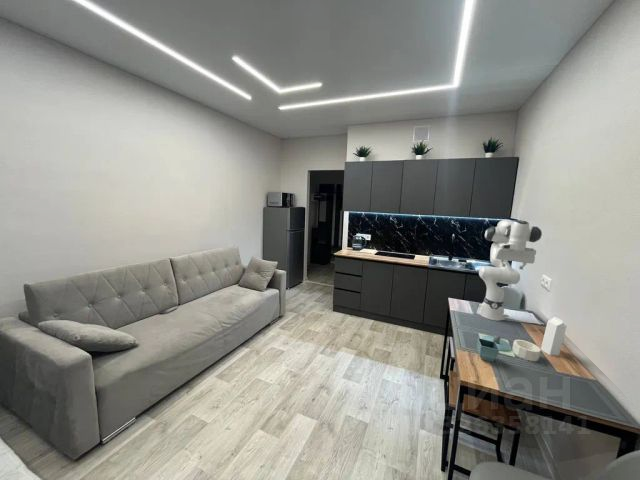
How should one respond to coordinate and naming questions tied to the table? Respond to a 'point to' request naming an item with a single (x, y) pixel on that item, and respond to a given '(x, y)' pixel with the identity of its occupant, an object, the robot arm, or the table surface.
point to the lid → (498, 342)
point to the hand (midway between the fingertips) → (512, 268)
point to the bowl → (526, 350)
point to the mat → (507, 353)
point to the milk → (553, 336)
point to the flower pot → (487, 349)
